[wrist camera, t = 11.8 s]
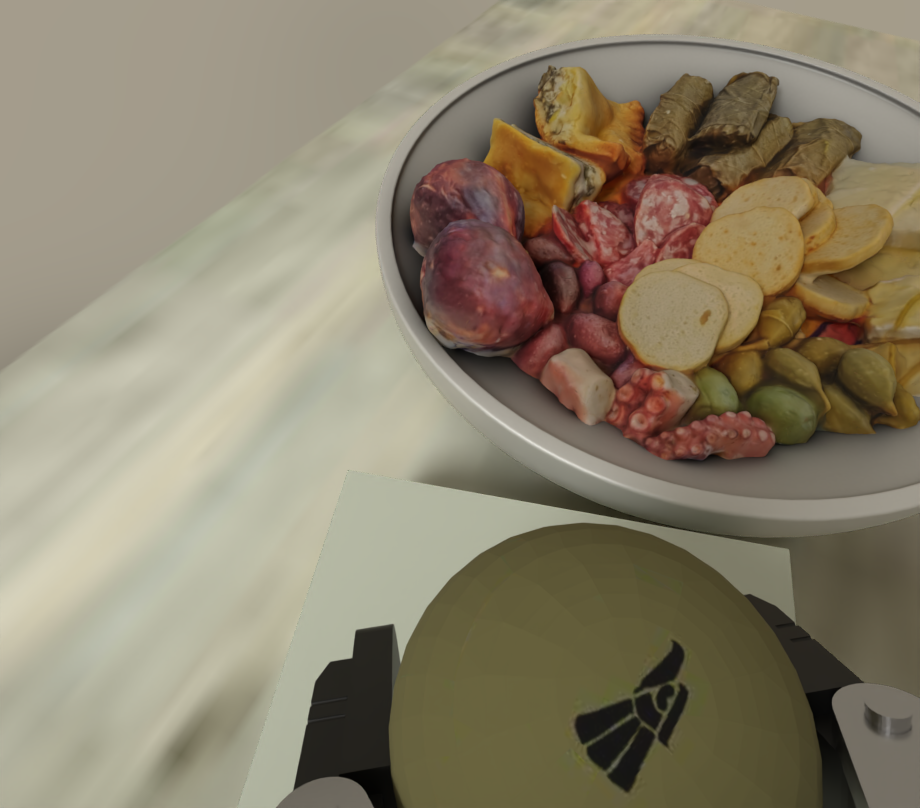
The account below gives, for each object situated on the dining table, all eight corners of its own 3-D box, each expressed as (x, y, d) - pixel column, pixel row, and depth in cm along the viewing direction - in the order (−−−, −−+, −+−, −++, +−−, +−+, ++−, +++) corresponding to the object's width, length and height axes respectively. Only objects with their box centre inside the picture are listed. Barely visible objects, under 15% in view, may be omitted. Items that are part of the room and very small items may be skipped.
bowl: (709, 67, 43) (753, -67, 36) (1140, 377, 29) (1344, 250, 22) (301, 206, 35) (263, 70, 29) (610, 722, 21) (676, 686, 14)
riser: (230, 993, 17) (154, 1057, 13) (368, 526, 25) (348, 470, 20) (748, 1141, 16) (853, 1267, 11) (730, 594, 23) (789, 549, 19)
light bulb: (618, 968, 13) (929, 1297, 4) (377, 829, 14) (245, 866, 5) (684, 695, 15) (950, 562, 7) (478, 600, 17) (492, 391, 8)
